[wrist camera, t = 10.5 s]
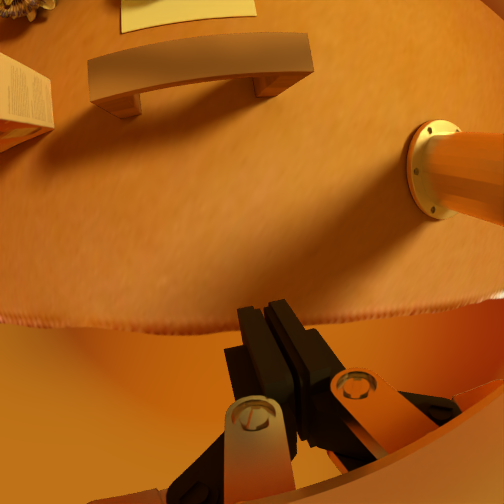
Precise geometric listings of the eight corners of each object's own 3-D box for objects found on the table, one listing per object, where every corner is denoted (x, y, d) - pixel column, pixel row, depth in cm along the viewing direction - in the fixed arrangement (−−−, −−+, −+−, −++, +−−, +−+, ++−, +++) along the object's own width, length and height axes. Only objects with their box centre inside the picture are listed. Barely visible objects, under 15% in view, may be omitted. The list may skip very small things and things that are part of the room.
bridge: (117, 89, 23) (87, 60, 14) (272, 67, 25) (307, 33, 16) (120, 119, 24) (89, 101, 15) (276, 95, 26) (314, 71, 17)
